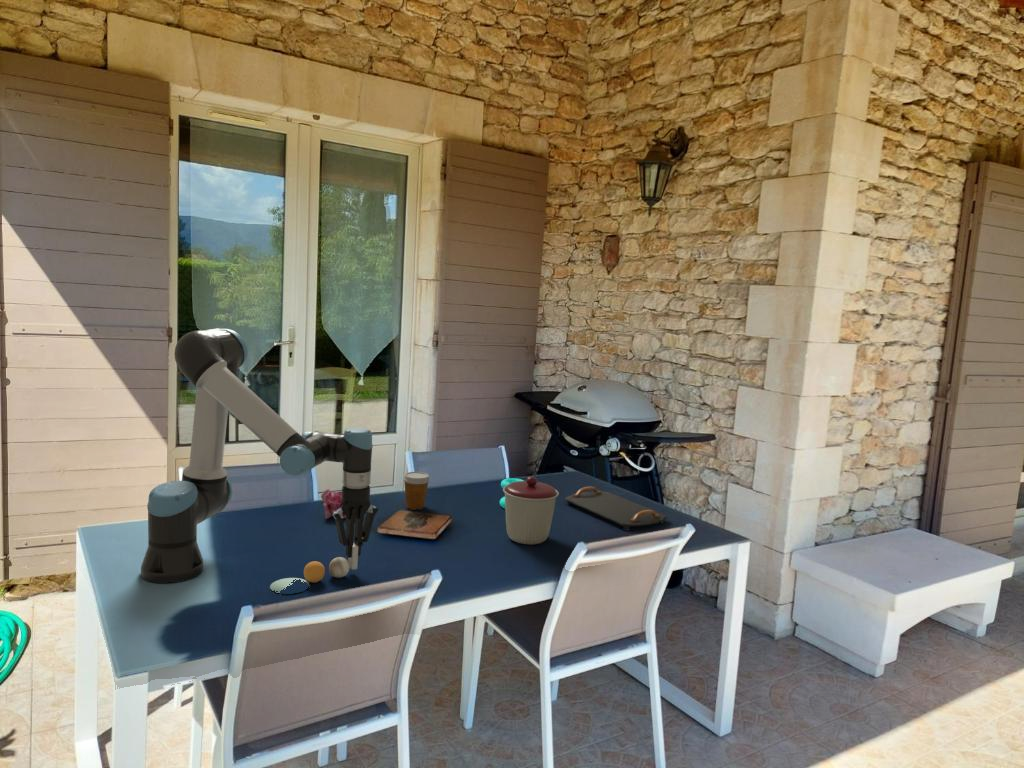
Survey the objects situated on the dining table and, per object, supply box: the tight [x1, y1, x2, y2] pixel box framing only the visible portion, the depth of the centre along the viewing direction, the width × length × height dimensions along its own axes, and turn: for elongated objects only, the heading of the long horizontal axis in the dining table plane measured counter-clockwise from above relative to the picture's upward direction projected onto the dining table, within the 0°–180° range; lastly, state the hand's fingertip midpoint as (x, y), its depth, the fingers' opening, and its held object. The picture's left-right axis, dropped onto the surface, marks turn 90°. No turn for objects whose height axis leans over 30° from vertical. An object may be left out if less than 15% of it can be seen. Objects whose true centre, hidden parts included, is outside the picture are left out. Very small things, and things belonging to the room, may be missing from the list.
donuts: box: [499, 477, 525, 510], centre depth 265 cm, size 10×10×10 cm
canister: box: [502, 476, 560, 546], centre depth 232 cm, size 18×18×21 cm
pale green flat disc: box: [269, 577, 311, 594], centre depth 187 cm, size 10×10×1 cm
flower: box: [320, 488, 346, 520], centre depth 243 cm, size 11×10×10 cm
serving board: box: [564, 486, 668, 530], centre depth 267 cm, size 39×23×6 cm, turn 36°
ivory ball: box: [328, 556, 351, 579], centre depth 194 cm, size 6×6×6 cm
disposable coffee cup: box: [402, 471, 431, 511], centre depth 257 cm, size 10×10×12 cm
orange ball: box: [303, 560, 326, 583], centre depth 190 cm, size 6×6×6 cm
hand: (352, 567), depth 197 cm, fingers closed
